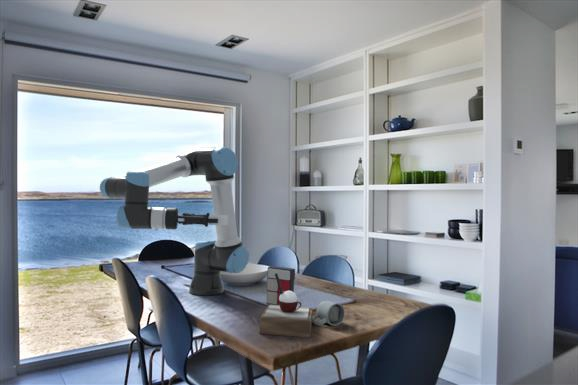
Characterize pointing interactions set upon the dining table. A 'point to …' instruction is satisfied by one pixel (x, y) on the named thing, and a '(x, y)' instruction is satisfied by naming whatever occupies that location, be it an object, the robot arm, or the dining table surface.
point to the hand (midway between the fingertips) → (227, 219)
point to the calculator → (286, 283)
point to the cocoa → (287, 299)
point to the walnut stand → (286, 321)
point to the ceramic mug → (329, 313)
